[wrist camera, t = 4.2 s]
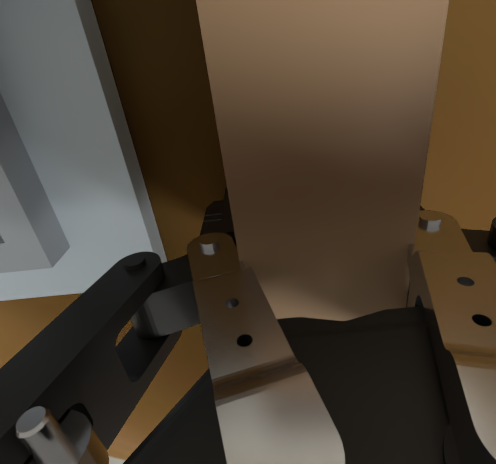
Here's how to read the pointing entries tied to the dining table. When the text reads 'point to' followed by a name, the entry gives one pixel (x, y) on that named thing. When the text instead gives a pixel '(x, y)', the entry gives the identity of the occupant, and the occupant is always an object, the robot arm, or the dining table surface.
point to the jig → (64, 155)
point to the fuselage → (324, 143)
